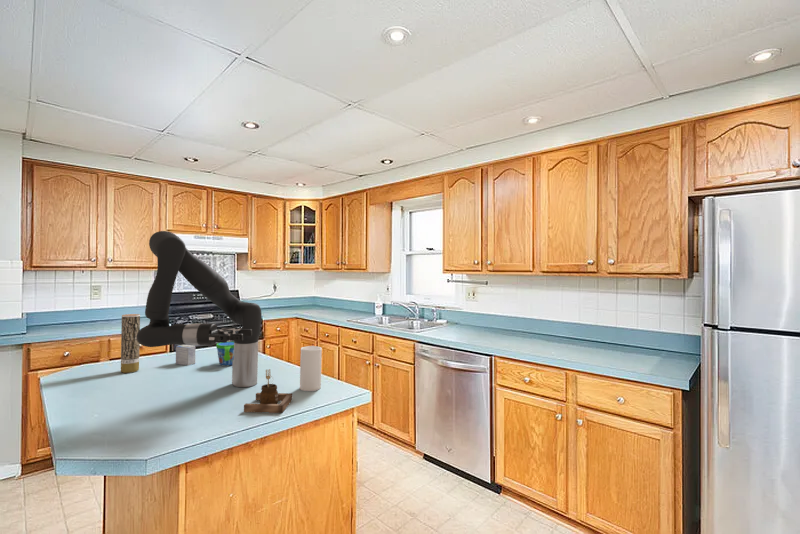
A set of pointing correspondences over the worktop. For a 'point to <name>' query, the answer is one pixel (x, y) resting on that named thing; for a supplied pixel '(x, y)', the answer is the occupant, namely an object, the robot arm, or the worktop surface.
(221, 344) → the snack cup
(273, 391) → the utensil holder
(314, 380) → the cup
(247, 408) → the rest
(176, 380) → the worktop surface
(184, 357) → the medicine box
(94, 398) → the worktop surface
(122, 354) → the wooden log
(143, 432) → the worktop surface
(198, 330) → the robot arm
